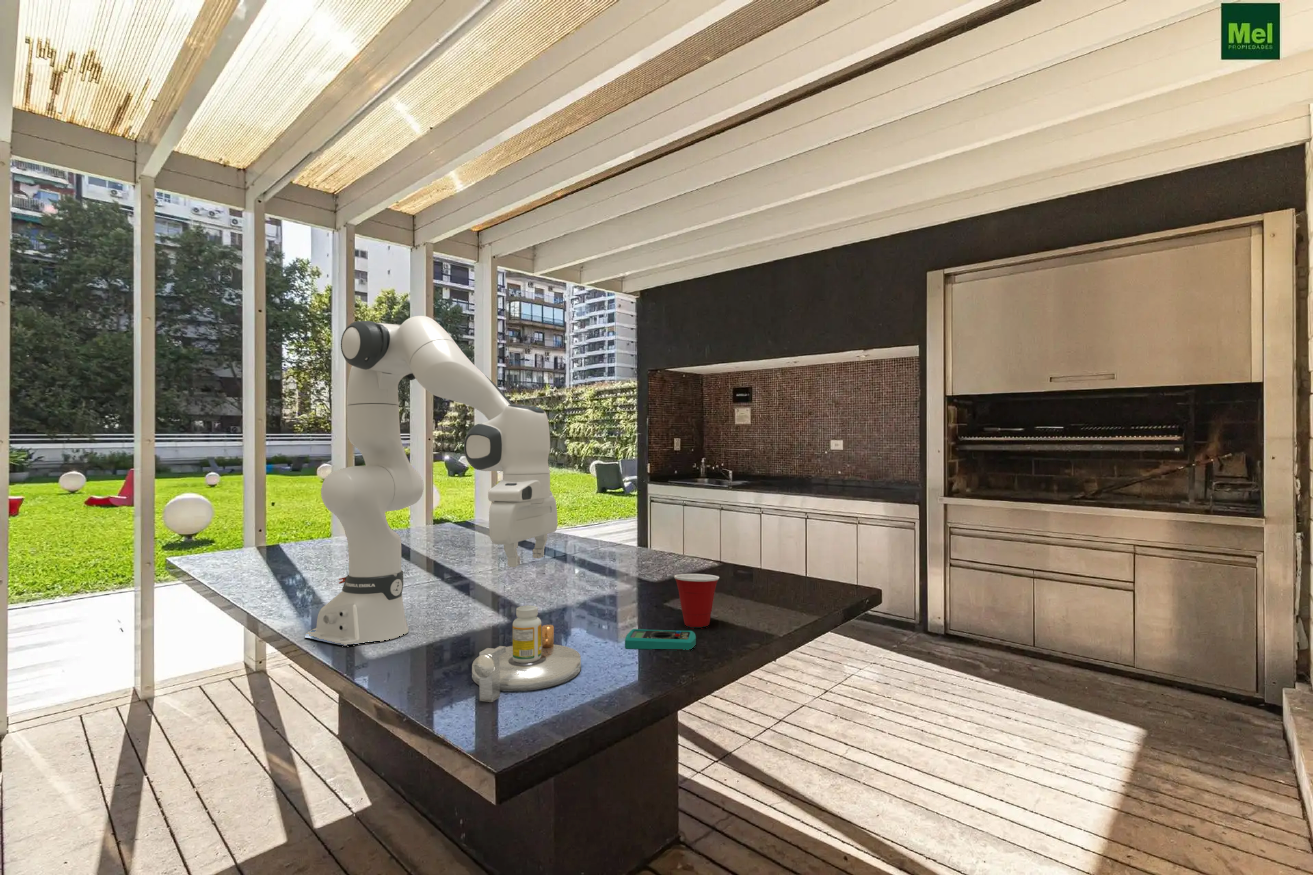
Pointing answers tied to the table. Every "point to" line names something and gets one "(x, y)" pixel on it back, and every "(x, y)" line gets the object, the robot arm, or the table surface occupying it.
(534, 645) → the supplement bottle
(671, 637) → the digital multimeter
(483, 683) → the stand
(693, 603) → the plastic cup
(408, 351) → the robot arm
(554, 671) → the turntable
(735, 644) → the table surface
